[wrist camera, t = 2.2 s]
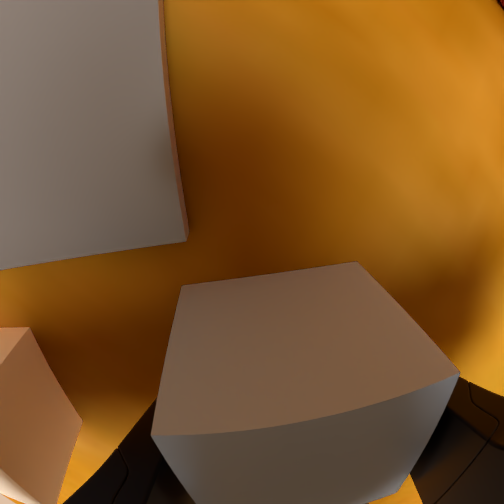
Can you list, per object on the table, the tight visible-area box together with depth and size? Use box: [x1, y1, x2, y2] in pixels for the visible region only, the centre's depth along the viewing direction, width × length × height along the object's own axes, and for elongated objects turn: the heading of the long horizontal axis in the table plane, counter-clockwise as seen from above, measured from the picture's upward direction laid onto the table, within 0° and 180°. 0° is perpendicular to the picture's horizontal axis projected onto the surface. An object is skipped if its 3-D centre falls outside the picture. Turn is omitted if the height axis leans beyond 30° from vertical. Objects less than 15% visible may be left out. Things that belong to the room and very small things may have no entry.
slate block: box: [151, 261, 460, 504], centre depth 7 cm, size 5×5×5 cm
